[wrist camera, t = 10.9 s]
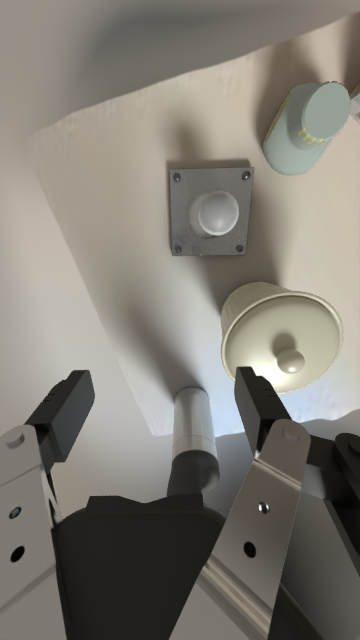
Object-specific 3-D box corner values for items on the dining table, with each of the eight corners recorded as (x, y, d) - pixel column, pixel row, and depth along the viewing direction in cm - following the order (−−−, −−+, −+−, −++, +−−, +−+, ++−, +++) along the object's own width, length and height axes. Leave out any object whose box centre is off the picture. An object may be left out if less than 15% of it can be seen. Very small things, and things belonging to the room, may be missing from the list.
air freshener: (291, 186, 39) (324, 176, 30) (251, 163, 38) (273, 144, 28) (333, 113, 35) (387, 75, 26) (290, 84, 33) (330, 33, 24)
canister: (249, 358, 54) (285, 434, 34) (192, 314, 49) (198, 374, 30) (310, 304, 48) (396, 360, 28) (252, 249, 43) (308, 271, 24)
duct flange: (243, 253, 44) (246, 255, 41) (172, 254, 44) (172, 256, 42) (251, 169, 38) (255, 166, 36) (170, 171, 38) (169, 168, 36)
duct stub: (228, 196, 38) (240, 190, 29) (225, 232, 40) (236, 235, 32) (195, 197, 38) (198, 191, 29) (194, 232, 40) (197, 235, 32)
